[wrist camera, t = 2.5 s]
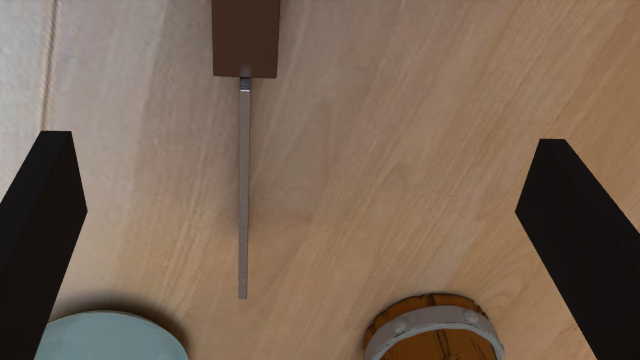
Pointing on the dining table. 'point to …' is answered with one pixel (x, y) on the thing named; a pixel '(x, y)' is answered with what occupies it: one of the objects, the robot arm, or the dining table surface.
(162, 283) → the dining table surface
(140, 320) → the saucer
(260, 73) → the knife
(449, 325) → the mug
